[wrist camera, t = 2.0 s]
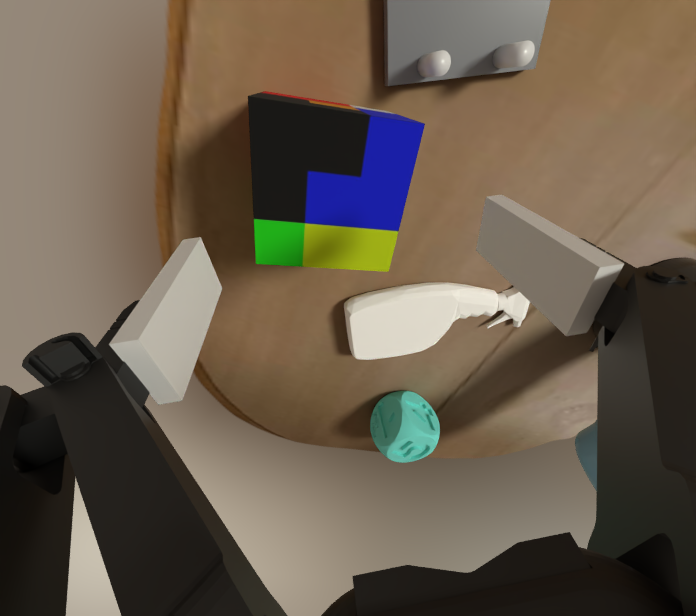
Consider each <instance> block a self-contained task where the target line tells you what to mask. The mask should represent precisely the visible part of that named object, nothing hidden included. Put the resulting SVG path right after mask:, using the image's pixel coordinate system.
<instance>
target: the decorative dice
mask: <svg viewBox="0 0 696 616" xmlns="http://www.w3.org/2000/svg"><path fill="white" fill-rule="evenodd" d="M370 429H371V435H372V438H373V441H374V443H375V445H376V446H377V448H378V449H379V450H380V452H381V453H382V454H383V455H385V456H386V457H387V458H389V459H390V460H392V461H395V462H412V461H416V460H419V459H421V458H424V457H426V456H427V455H429V454H430V453H431V452H433V450H434V449H435V447H436V445H437V443H438V440H439V435H440V425H439V421H438V418H437V416H436V414H435V412H434V410H433V409H432V407H431V406H430V405H429V404H428V403H427V401H426V400H424V399H423V398H422V397H421V396H419V395H418V394H416V393H414V392H410V391H397V392H393V393H390V394H388V395H386V396H384V397H383V398H382V399H381V400H380V401H379V402H378V403H377V404H376V406H375V408H374V410H373V413H372V416H371V422H370Z"/></svg>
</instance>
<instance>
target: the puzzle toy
mask: <svg viewBox="0 0 696 616" xmlns="http://www.w3.org/2000/svg"><path fill="white" fill-rule="evenodd" d="M248 106H249V127H250V148H251V169H252V191H253V212H254V233H255V254H256V264H267V265H284V266H301V267H318V268H335V269H352V270H370V271H387V272H388V271H389V267H390V263H391V259H392V255H393V251H394V247H395V243H396V239H397V235H398V231H399V227H400V223H401V219H402V215H403V210H404V206H405V202H406V198H407V194H408V190H409V186H410V182H411V178H412V174H413V170H414V166H415V162H416V158H417V154H418V150H419V146H420V142H421V137H422V133H423V129H424V125H425V124H424V123H421V122H418V121H415V120H412V119H409V118H406V117H403V116H400V115H397V114H394V113H391V112H388V111H384V110H377V109H371V108H365V107H359V106H353V105H346V104H340V103H334V102H328V101H322V100H315V99H309V98H303V97H297V96H291V95H284V94H278V93H272V92H266V91H265V92H261V93H257V94H254V95H250V96H248Z"/></svg>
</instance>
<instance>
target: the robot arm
mask: <svg viewBox="0 0 696 616" xmlns="http://www.w3.org/2000/svg"><path fill="white" fill-rule="evenodd" d="M476 251H477V252H478V253H479V254H480V255H481V256H483V257H484V258H485V259H486V260H487V261H488V262H489V263H490V264H491V265H492V266H493V267H494V268H495V269H496V270H497V271H498V272H499V273H500V274H501V275H502V276H503V277H504V278H506V279H507V280H508V281H509V282H510V283H511V284H512V285H513V286H514V287H515V288H516V289H517V290H518V291H519V292H520V293H521V294H522V295H523V296H524V297H525V298H526V299H528V300H529V301H530V302H531V303H532V304H533V305H534V306H535V307H536V308H537V309H538V310H539V311H540V312H541V313H542V314H543V315H544V316H545V317H546V318H547V319H548V320H550V321H551V322H552V323H553V324H554V325H555V326H556V327H557V328H558V329H559V330H560V331H561V332H562V333H563V334H564V335H565V336H571V335H577V334H583V333H587V332H588V330H589V328H590V326H591V325H592V323H593V321H594V323H593V330H594V333H595V335H596V336H597V337H596V339H595V341H594V342H593V344H592V346H591V348H590V350H589V351H594V349H595V348H597V347H598V415H597V420H596V422H595V423H593V424H592V425H590V426H589V427H587V428H585V429H584V430H582V431H580V432H579V433H578V434H577V436H576V439H575V446H576V452H577V455H578V458H579V460H580V463H581V465H582V467H583V469H584V471H585V472H586V474H587V476H588V478H589V480H590V481H591V483H592V485H593V486H594V488H595V489H596V491H597V511H596V523H595V527H594V530H593V532H592V535H591V537H590V540H589V543H588V547H587V549H584V548H580V547H578V545H577V544H576V542H575V541H574V539H573V537H572V535H571V534H570V532H568V533H563V534H558V535H553V536H548V537H543V538H539V539H533V540H528V541H524V542H519V543H517V544H515V545H513V546H512V547H511V548H509V549H507V550H506V551H504V552H503V553H501V554H500V555H498V556H497V557H495V558H493V559H492V560H490V561H489V562H488V563H486V564H484V565H483V566H481V567H480V568H478V569H476V570H475V571H473V572H470V573H462V572H454V571H447V570H440V569H432V568H425V567H418V566H411V565H405V566H400V567H395V568H390V569H386V570H380V571H375V572H370V573H365V574H360V575H356V576H353V584H354V588H353V589H352V590H350V591H348V592H347V593H345V594H344V595H342V596H341V597H340V598H339V599H337V600H336V602H334V603H333V604H332V605H331V606H330V607H329V608H328V609H327V610H326V611H325V612H324V613H323V614H322V615H321V616H696V260H695V259H691V258H676V259H670V260H667V261H663V262H660V263H658V264H655V265H653V266H643V267H639V268H635V267H633V266H632V265H630V264H628V263H626V262H624V261H623V260H621V259H619V258H617V257H615V256H614V255H612V254H610V253H608V252H606V253H605V250H603V249H601V248H599V247H596V245H594V244H592V243H590V242H588V241H587V240H585V239H582V238H579V237H576V236H575V235H573V234H571V233H569V232H568V231H566V230H564V229H562V228H560V227H559V226H557V225H555V224H553V223H552V222H550V221H548V220H546V219H544V218H543V217H541V216H539V215H537V214H536V213H534V212H532V211H530V210H528V209H527V208H525V207H523V206H521V205H520V204H518V203H516V202H514V201H512V200H511V199H509V198H507V197H505V196H504V195H496V196H489V197H486V201H485V206H484V211H483V216H482V222H481V227H480V232H479V238H478V243H477V248H476ZM221 291H222V287H221V284H220V282H219V279H218V277H217V275H216V272H215V270H214V268H213V265H212V263H211V261H210V258H209V256H208V253H207V251H206V249H205V246H204V244H203V242H202V239H201V237H198V238H191V239H184V240H182V242H181V243H180V245H179V246H178V247H177V249H176V250H175V252H174V253H173V255H172V256H171V257H170V259H169V260H168V262H167V263H166V264H165V266H164V267H163V269H162V270H161V272H160V273H159V275H158V276H157V277H156V279H155V280H154V281H153V283H152V284H151V286H150V287H149V288H148V290H147V291H146V293H145V294H144V296H143V297H142V298H141V300H138V301H135V302H133V303H132V304H131V305H129V306H128V307H127V308H126V309H124V310H123V311H122V313H121V314H120V315H119V317H118V318H117V319H116V322H114V323H113V325H112V326H111V328H110V330H108V331H107V333H106V334H105V335H104V337H103V338H102V339H101V341H100V342H99V344H98V345H97V346H96V347H94V346H93V345H92V344H91V343H90V341H89V340H88V339H87V338H86V337H85V336H84V335H83V334H81V333H68V334H64V335H60V336H57V337H55V338H52V339H50V340H48V341H46V342H45V343H43V344H41V345H39V346H38V347H36V348H35V349H34V350H33V351H31V352H30V353H29V354H28V355H27V356H26V357H25V359H24V360H23V363H22V366H23V368H25V369H26V370H27V371H28V372H29V373H30V374H31V375H33V376H34V377H35V378H36V379H37V380H38V381H40V382H41V383H42V384H43V385H44V387H42V388H39V389H36V390H33V391H31V392H28V393H25V394H22V395H19V394H18V393H17V392H15V391H14V390H13V389H12V388H10V387H8V386H0V616H65V615H66V602H67V588H68V574H69V558H70V545H71V531H72V516H73V501H74V487H75V476H76V479H77V482H78V485H79V488H80V492H81V495H82V498H83V501H84V503H85V507H86V509H87V513H88V516H89V519H90V522H91V524H92V528H93V531H94V534H95V537H96V540H97V543H98V546H99V549H100V552H101V555H102V558H103V561H104V564H105V567H106V570H107V573H108V576H109V579H110V582H111V585H112V588H113V591H114V594H115V597H116V600H117V604H118V607H119V609H120V613H121V616H287V615H286V613H285V612H284V610H283V609H282V608H281V606H280V605H279V604H278V603H277V601H276V600H275V599H274V597H273V596H272V595H271V594H270V592H269V591H268V590H267V588H266V587H265V585H264V584H263V583H262V581H261V579H260V578H259V576H258V575H257V574H256V572H255V570H254V569H253V567H252V566H251V564H250V563H249V561H248V560H247V558H246V557H245V555H244V554H243V552H242V551H241V549H240V548H239V546H238V545H237V543H236V542H235V540H234V539H233V537H232V535H231V534H230V532H229V531H228V529H227V528H226V526H225V525H224V523H223V522H222V520H221V519H220V517H219V516H218V514H217V513H216V511H215V510H214V508H213V507H212V505H211V504H210V502H209V500H208V499H207V497H206V496H205V494H204V493H203V491H202V490H201V488H200V487H199V485H198V484H197V482H196V481H195V479H194V478H193V476H192V475H191V473H190V472H189V470H188V469H187V467H186V465H185V464H184V463H183V461H182V459H181V458H180V456H179V455H178V453H177V452H176V450H175V449H174V447H173V446H172V444H171V443H170V441H169V440H168V438H167V437H166V435H165V434H164V432H163V431H162V429H161V428H160V426H159V425H158V423H157V421H156V420H155V418H154V417H153V415H152V414H151V412H150V411H149V410H148V408H147V407H146V406H145V405H144V404H145V401H146V399H147V397H148V395H149V394H150V395H151V396H152V398H153V399H154V400H155V401H156V403H157V404H158V405H160V404H166V403H171V402H178V401H182V400H183V397H184V395H185V392H186V389H187V386H188V383H189V381H190V378H191V375H192V372H193V369H194V367H195V364H196V361H197V358H198V355H199V353H200V350H201V347H202V344H203V341H204V339H205V336H206V333H207V330H208V327H209V324H210V322H211V319H212V316H213V313H214V310H215V308H216V305H217V302H218V299H219V296H220V294H221Z"/></svg>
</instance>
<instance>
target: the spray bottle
mask: <svg viewBox="0 0 696 616" xmlns="http://www.w3.org/2000/svg"><path fill="white" fill-rule="evenodd" d="M529 303H530V301H529V300H528V299H526V298H525V297H524V296H523V295H522V294H521V293H520V292H519V291H518V290H517V289H516V288H515V287H512V288H511V289H508V290H505V291H502V293H498V294H497V293H496V292H495V291H494V290H490V289H485V288H480V287H475V286H470V285H464V284H456V283H447V282H432V283H419V284H409V285H401V286H396V287H391V288H386V289H381V290H376V291H372V292H367V293H364V294H360V295H357V296H353V297H351V298H349V299H348V300H347V301H346V302H345V303H344V311H345V319H346V327H347V335H348V341H349V346H350V351H351V353H352V355H353V357H355V358H356V359H365V360H372V359H379V358H387V357H395V356H401V355H406V354H411V353H415V352H420V351H423V350H425V349H427V348H429V347H431V346H432V345H434V344H436V342H437V341H438V340H439V339H440V338H441V337H442V336H443V335H444V334H445V333H446V332H447V330H448V329H449V328H450V326H451V324H452V323H453V322H454V321H455V320H457V319H459V318H467V317H468V316H474V317H477V316H479V315H481V314H483V315H486V316H492V315H494V314H495V313H496V311H500V310H503V311H504V312H503V313H502V314H501V315H500V316H499V317H497V318H496V319H494V320H493V321H492V322H490V323H489V324H487V325H486V326H487V327H488V328H490V327H491V326H493V325H495V324H498V323H500V322H503V321H505V320H508V319H511V318H513V319H514V320H513V326H514V327H520V325H521V322H522V320H523V319H525V316H526V313H527V310H528V306H529Z"/></svg>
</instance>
